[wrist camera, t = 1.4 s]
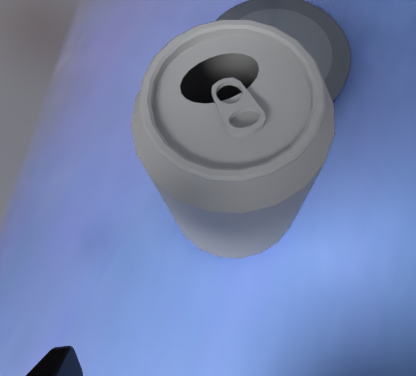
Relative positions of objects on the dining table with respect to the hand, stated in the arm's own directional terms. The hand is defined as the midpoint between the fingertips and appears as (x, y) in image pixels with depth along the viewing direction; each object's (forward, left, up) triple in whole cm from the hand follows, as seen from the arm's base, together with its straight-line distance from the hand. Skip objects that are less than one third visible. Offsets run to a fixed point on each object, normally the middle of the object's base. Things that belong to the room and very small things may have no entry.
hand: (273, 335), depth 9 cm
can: (+6, -5, -14) cm, 16 cm away
